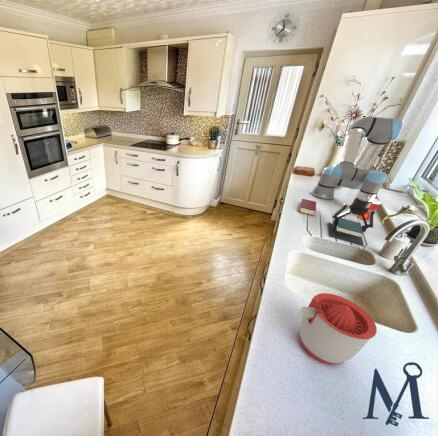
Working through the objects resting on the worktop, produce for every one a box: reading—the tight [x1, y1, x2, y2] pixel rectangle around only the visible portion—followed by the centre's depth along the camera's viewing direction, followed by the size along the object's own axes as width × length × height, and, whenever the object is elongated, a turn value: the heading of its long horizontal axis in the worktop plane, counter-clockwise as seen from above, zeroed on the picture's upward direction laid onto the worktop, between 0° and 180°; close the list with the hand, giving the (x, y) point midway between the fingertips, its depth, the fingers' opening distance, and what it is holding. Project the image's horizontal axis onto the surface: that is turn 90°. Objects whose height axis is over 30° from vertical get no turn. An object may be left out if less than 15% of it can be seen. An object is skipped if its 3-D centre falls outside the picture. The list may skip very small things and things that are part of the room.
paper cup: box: [357, 198, 382, 222], centre depth 154 cm, size 8×8×14 cm
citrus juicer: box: [298, 292, 378, 365], centre depth 72 cm, size 16×17×20 cm
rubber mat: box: [328, 222, 364, 247], centre depth 139 cm, size 18×16×1 cm
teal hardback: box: [336, 217, 364, 238], centre depth 137 cm, size 14×12×3 cm
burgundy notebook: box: [298, 198, 317, 217], centre depth 165 cm, size 17×9×4 cm, turn 146°
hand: (345, 232), depth 139 cm, fingers closed on teal hardback, 11 cm apart
